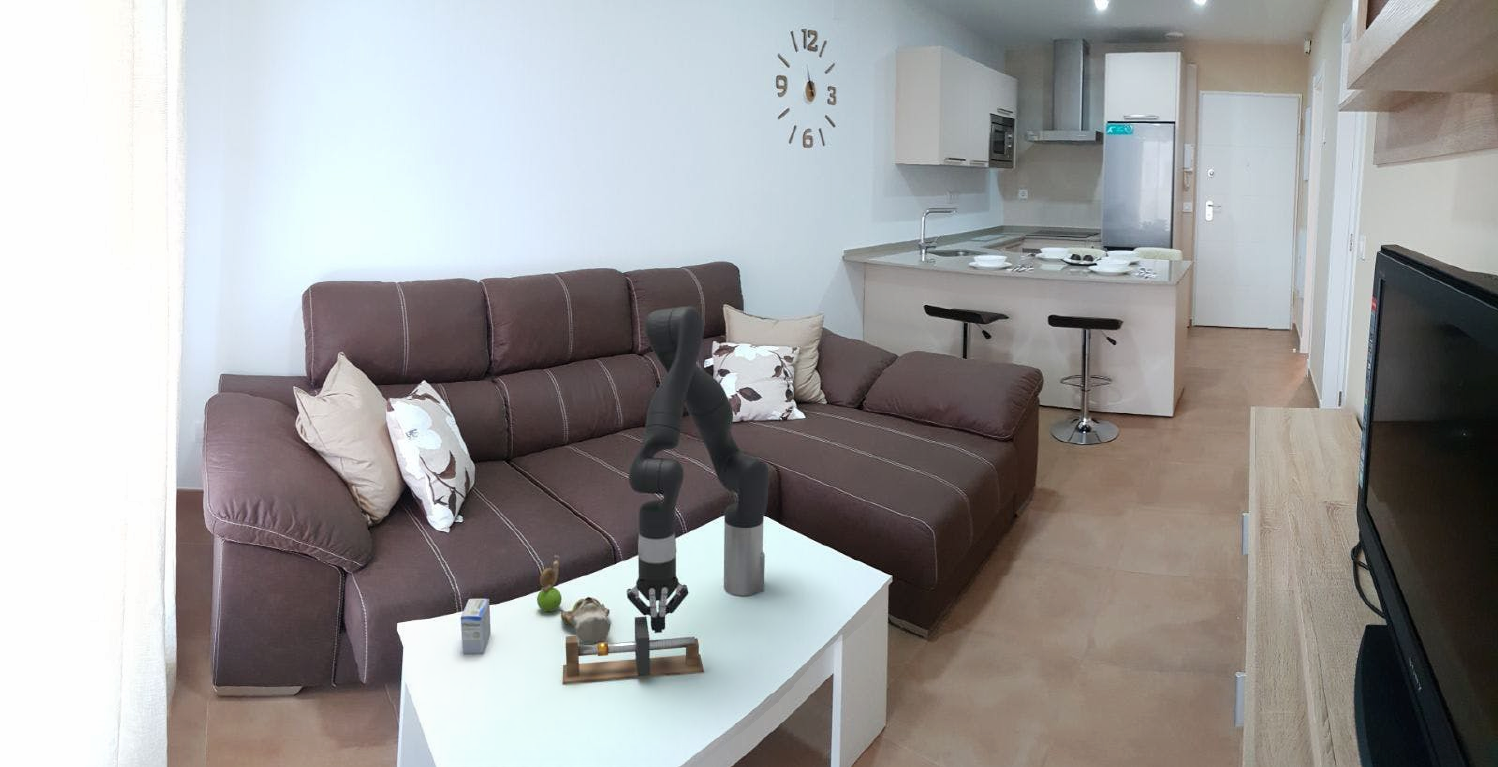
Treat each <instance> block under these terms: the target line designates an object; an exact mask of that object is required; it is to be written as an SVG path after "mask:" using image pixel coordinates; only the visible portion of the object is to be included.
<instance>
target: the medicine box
mask: <svg viewBox="0 0 1498 767" xmlns="http://www.w3.org/2000/svg"><path fill="white" fill-rule="evenodd" d="M467 600H468V601H467V602H466V605H465V607H464V609H463V612H462V614H461V616H460V627H461V628H460V629H461V630H460V631H461V646H462V653H463V654H464V655H465V654H473V655H474V654H484V653H485V650H486V647H487V645H488V642H489V638H490V636H491V612H490V611H491V610H490V599H489V598H469V599H467Z"/></svg>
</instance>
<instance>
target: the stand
mask: <svg viewBox="0 0 1498 767" xmlns="http://www.w3.org/2000/svg"><path fill="white" fill-rule="evenodd" d="M578 646H579V638H578V635H577V634H576V635H567V636H566V635H565V660H566V661H565V662H566V663H565V664H563V665H562V685H571V684H583V683H584V684H585V683H593V682H595V683H596V682H605V681H607V682H608V681H618V680H620V681H621V680H630V679H641V678H652V677H665V676H666V677H667V676H679V675H688V674H689V675H690V674H702V673H705V668H704V664H703V660H702V656H701V654H700V644H699V639H698V637H695V644H694V645H687V648H685V655H684V654H683V655H672V656H660V657H659V656H658V657H650V675H649V676H638V674H637V665H636V658H634V659H622V660H621V659H620V660H610V661H609V660H608V661H597V662H595V661H594V662H586V663H580V660H579V657H580V656H578Z"/></svg>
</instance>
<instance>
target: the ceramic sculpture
mask: <svg viewBox="0 0 1498 767" xmlns="http://www.w3.org/2000/svg"><path fill="white" fill-rule="evenodd" d="M560 610H561V611H560V618H561V621H562V622H563V623H564V624H566V625H567V626H571V627H573V628H574V629H575V635H576V636H577V635H578V640H580V642H581V643H583V644H589V645H594V644H597V643H600V642H603V641H604V640H605V639H606V638H607V636H608V635H609V633H610V630H611V622H610V620H609V619H608V617H609V614H610V611H611V610H610V609H609V608H606V606H605V605H604V604H603V603H602V604H601V602H600V601H599V599H597V598H594V597H590V596H588V597H586V598H581V599H579V600H577V601H576V602H575V603H574V605H573V608H572V610H568V611H567V610H566V611H565V610H563V609H560Z"/></svg>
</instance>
